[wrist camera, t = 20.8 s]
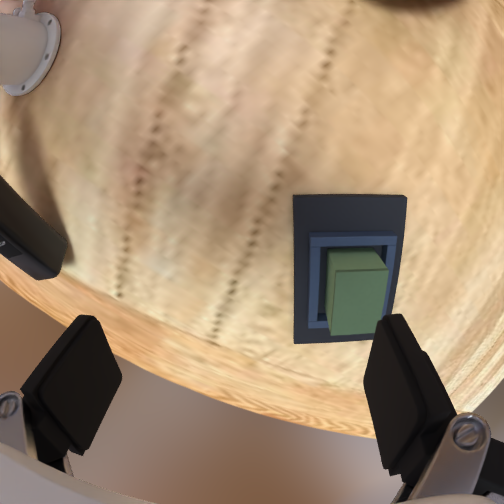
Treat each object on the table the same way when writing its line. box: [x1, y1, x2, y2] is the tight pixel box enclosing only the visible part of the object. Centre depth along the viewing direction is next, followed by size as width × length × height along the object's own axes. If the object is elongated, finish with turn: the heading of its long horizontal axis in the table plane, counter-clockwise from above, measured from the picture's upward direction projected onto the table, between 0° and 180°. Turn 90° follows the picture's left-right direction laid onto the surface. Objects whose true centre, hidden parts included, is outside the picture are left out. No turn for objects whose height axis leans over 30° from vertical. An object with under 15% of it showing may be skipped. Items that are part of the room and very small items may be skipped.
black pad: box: [293, 194, 407, 344], centre depth 31 cm, size 18×12×3 cm, turn 4°
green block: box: [324, 248, 389, 336], centre depth 29 cm, size 7×5×6 cm
